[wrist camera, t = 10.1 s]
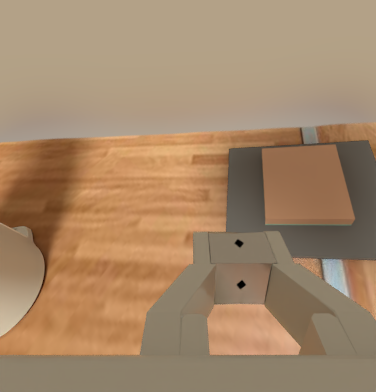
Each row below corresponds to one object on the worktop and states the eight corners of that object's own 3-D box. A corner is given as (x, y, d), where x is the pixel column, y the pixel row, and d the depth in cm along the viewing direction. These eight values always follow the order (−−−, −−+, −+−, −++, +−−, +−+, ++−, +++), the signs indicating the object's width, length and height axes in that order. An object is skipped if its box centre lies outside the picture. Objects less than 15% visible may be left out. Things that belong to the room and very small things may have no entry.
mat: (225, 255, 34) (225, 253, 33) (229, 151, 44) (229, 148, 43) (408, 261, 29) (410, 259, 29) (366, 143, 39) (368, 140, 39)
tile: (265, 219, 33) (261, 148, 40) (265, 225, 34) (261, 155, 41) (355, 219, 31) (335, 144, 37) (351, 225, 32) (332, 152, 39)
